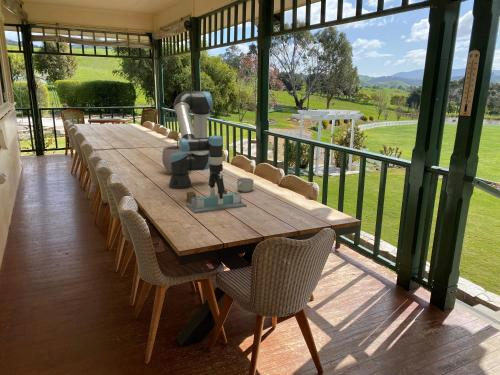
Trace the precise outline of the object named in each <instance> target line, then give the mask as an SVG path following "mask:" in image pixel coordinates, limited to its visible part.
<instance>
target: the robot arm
mask: <svg viewBox="0 0 500 375" xmlns="http://www.w3.org/2000/svg"><path fill="white" fill-rule="evenodd" d="M173 102H174V103H173V110H174V112H175V114H176V117H177V122H178V126H179V131H180V139H178V144H179V148H180V151H182V152H177V153H174V154H172V155H171V161H170V162H171V173H170V174H171V176H170V179H169V182H168V186H169V188H171V189H173V190H174V189H176V190H181V189H184V190H185V189H189V188H192V186H193V185H192V180H191V177H190V176H189V175H190V174H189V172H190V171H191V172H194V171H208V170H209V179H208V187H209V189H210V190H209V192H210V193H209V194H210V195H209V196H216V187H217V195H218V204H223V193H224V192H225V190H224V189H225V184H224V179H223V178H224V175H223V174H221V172H223V170H224V167H223V166H224V165H223V162H224V160H223V159H224V155H223V153H224V152H223V149H224V148H223V147H224V146H223V144H224V142H223V137H222V136H221V135H210V136H208V116H209V115H210V113H211V111H213V109H214V104H213V103H214V102H213V98H212V94H211V93H210V91H206V90H205V91H204V90H202V91H200V90H194V91H193V90H192V91H191V90H190V91H189V90H186V91H183V92H180V93H179V94H177V96H176V98H175V100H174V101H173ZM190 111H191V113H192V114H193V121H192V118H191V115H190ZM192 122H193V123H192ZM188 152H191V154H188ZM221 190H222V191H221Z"/></svg>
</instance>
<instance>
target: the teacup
mask: <svg viewBox="0 0 500 375" xmlns="http://www.w3.org/2000/svg"><path fill="white" fill-rule="evenodd" d="M236 181H237V182H236V183H237V184H236V186H237V189H238V191H240V192H243V193H249V192H251V191H252V190H254V189H253V188H254V181H255V180H254V179H253V178H250V177H238V178H237V180H236Z"/></svg>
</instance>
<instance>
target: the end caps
mask: <svg viewBox="0 0 500 375" xmlns="http://www.w3.org/2000/svg"><path fill="white" fill-rule="evenodd" d="M232 193H235V194H237V195H232V204H239V203H241V202H242V194H241V193H239V192H237V191H235V192H227V194H232ZM199 197H201V196H196V197H191V203H190V204H191V206H192V207H193V208H194V209H202V208H204V199H199V200H196V199H195V198H199Z"/></svg>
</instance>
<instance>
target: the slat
mask: <svg viewBox="0 0 500 375" xmlns="http://www.w3.org/2000/svg"><path fill="white" fill-rule="evenodd" d="M231 193H232V192H231ZM232 195H237V194H235V193H232V194H228V193H227V194H224V195H223V204H231V203H232ZM198 197H199V196H198ZM195 199H196V200H199V199H204V207H208V206H216V205H223V204H218V194H217V195H216V194H215V196H210V195H209V196H200V197H199V198H195Z"/></svg>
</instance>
